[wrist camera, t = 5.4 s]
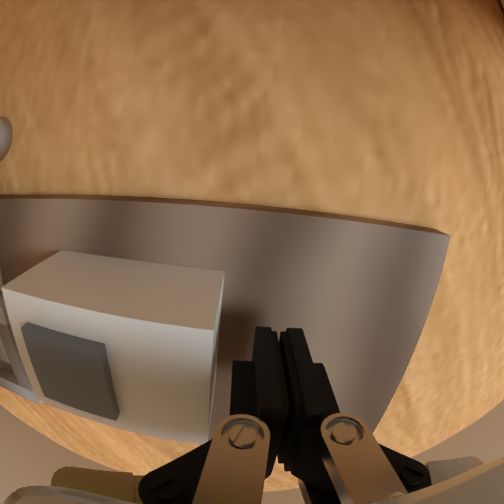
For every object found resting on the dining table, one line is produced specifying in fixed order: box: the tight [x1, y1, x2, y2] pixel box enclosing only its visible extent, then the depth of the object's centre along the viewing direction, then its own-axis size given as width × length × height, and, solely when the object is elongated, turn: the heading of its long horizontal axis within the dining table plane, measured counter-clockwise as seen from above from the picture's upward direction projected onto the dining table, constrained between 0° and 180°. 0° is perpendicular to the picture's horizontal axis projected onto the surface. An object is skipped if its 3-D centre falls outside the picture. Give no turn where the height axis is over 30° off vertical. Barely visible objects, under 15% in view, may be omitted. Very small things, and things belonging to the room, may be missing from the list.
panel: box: [0, 195, 450, 441], centre depth 12 cm, size 29×13×3 cm, turn 84°
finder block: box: [1, 250, 225, 444], centre depth 9 cm, size 7×5×4 cm
